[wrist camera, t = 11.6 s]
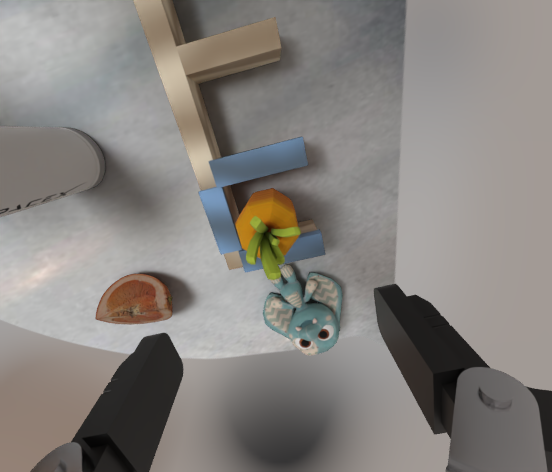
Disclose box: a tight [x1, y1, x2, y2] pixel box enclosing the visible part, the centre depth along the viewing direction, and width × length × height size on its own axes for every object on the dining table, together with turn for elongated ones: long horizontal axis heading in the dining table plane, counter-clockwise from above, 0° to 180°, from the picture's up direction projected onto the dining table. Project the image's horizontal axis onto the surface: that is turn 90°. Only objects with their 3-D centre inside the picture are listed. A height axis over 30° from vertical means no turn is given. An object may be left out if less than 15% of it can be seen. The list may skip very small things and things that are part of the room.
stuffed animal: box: [263, 265, 343, 355], centre depth 31 cm, size 11×7×12 cm
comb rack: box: [133, 0, 325, 272], centre depth 24 cm, size 29×10×5 cm, turn 14°
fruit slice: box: [96, 274, 173, 324], centre depth 31 cm, size 8×7×5 cm
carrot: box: [235, 188, 301, 280], centre depth 22 cm, size 5×5×15 cm
